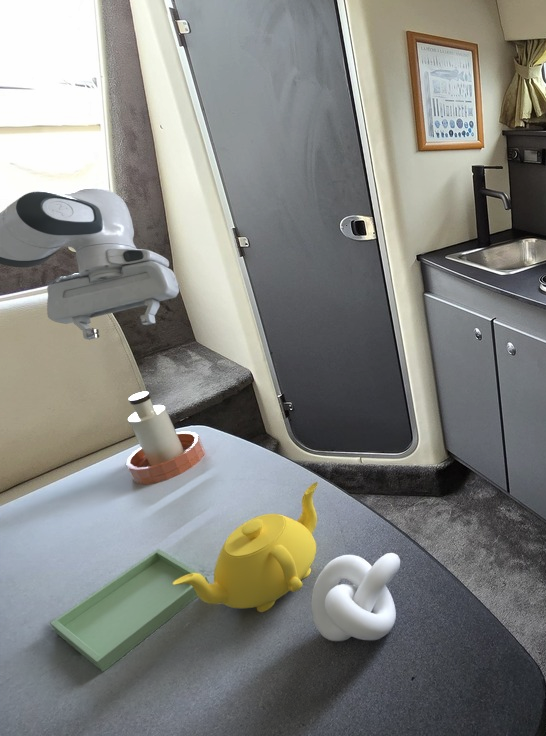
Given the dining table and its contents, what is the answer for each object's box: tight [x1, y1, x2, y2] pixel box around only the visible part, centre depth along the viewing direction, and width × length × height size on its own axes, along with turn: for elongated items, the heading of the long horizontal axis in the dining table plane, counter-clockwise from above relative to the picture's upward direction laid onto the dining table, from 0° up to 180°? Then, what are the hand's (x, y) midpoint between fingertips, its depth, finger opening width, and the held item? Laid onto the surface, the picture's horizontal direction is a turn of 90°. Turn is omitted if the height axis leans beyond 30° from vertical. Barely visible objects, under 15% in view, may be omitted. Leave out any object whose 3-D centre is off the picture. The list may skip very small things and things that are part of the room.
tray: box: [49, 548, 210, 673], centre depth 73 cm, size 13×13×2 cm
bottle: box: [127, 391, 186, 466], centre depth 98 cm, size 6×6×17 cm
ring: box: [125, 431, 205, 485], centre depth 100 cm, size 11×12×5 cm
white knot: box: [310, 552, 401, 642], centre depth 68 cm, size 11×12×9 cm
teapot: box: [173, 481, 319, 613], centre depth 74 cm, size 20×15×12 cm
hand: (120, 331), depth 96 cm, fingers open, 8 cm apart
